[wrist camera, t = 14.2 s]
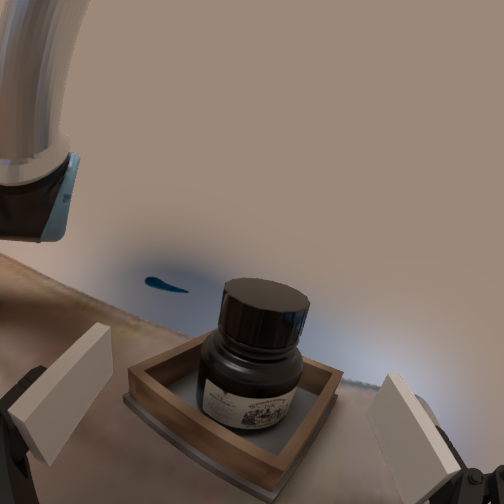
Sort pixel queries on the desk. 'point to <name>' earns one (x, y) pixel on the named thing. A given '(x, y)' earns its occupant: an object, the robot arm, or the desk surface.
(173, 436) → the tray
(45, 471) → the desk surface
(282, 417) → the ink bottle
